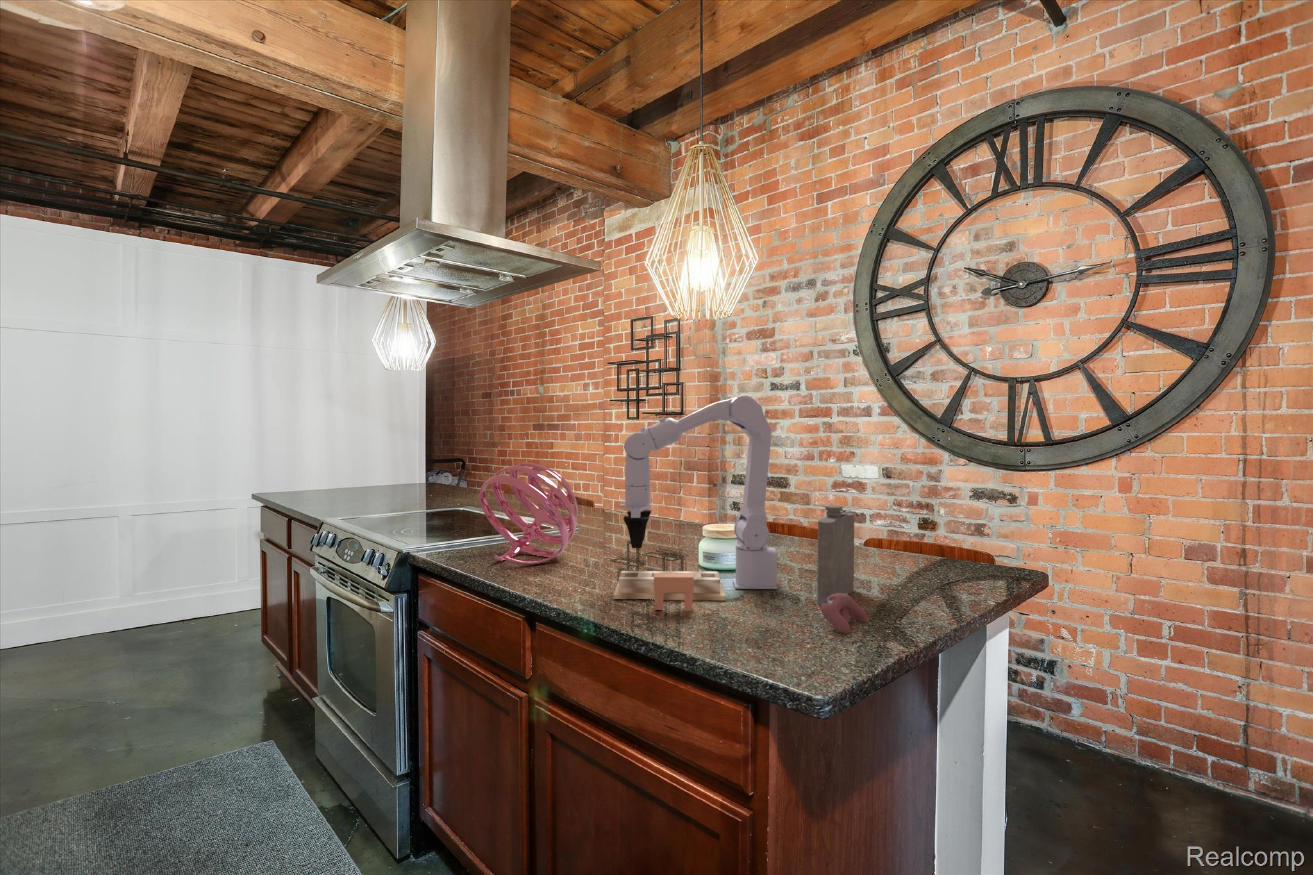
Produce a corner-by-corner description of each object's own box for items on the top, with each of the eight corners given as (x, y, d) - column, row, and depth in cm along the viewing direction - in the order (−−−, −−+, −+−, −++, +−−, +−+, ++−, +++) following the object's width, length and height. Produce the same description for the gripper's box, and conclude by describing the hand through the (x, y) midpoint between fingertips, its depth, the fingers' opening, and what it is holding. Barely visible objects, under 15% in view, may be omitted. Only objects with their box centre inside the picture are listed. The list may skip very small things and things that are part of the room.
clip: (693, 607, 132) (693, 573, 131) (693, 611, 129) (693, 577, 128) (654, 606, 132) (654, 573, 132) (653, 611, 129) (653, 577, 129)
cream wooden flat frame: (721, 586, 147) (721, 569, 147) (725, 600, 136) (725, 581, 136) (618, 585, 148) (618, 568, 148) (613, 599, 137) (613, 581, 137)
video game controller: (850, 626, 125) (835, 591, 126) (871, 619, 122) (855, 584, 124) (828, 639, 117) (813, 603, 119) (850, 633, 114) (834, 596, 116)
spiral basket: (489, 500, 151) (554, 433, 169) (434, 516, 170) (498, 454, 188) (558, 584, 159) (614, 512, 178) (498, 590, 178) (554, 525, 196)
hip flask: (829, 607, 132) (830, 511, 131) (810, 603, 134) (811, 509, 133) (855, 590, 144) (856, 502, 144) (838, 587, 147) (838, 500, 146)
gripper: (623, 481, 153) (623, 538, 153) (616, 488, 138) (617, 551, 139) (652, 481, 153) (652, 538, 153) (649, 488, 138) (649, 551, 139)
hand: (637, 544), depth 146 cm, fingers open, 7 cm apart
